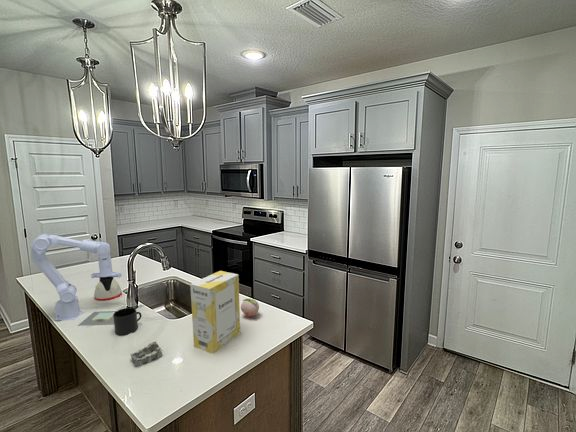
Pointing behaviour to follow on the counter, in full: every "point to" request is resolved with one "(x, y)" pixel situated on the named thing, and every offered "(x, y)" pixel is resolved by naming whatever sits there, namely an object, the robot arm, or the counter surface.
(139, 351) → the grey rough flat block
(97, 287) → the cream dome
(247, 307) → the decorative fruit
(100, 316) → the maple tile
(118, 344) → the counter surface
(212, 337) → the pasta box
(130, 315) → the mug
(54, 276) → the robot arm
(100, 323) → the picture frame
